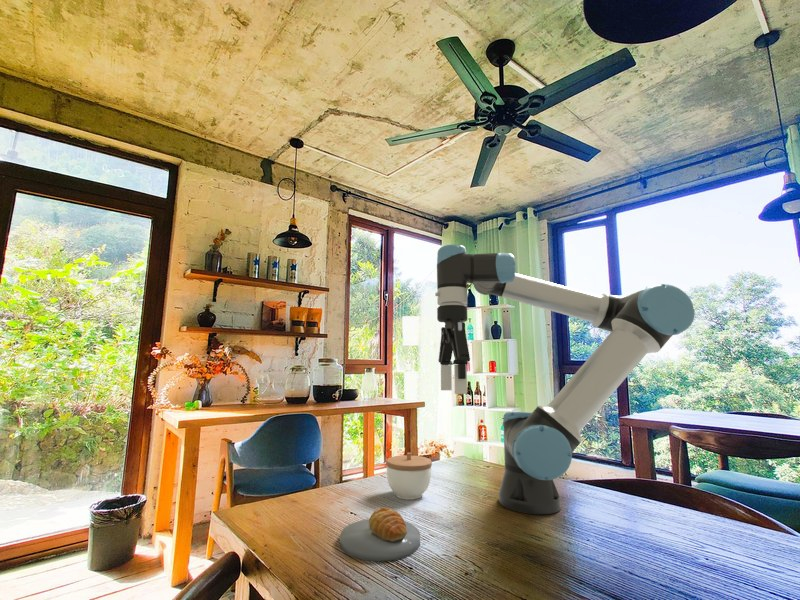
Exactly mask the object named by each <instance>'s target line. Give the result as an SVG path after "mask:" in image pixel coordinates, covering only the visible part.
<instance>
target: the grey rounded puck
mask: <svg viewBox="0 0 800 600" xmlns="http://www.w3.org/2000/svg"><path fill="white" fill-rule="evenodd" d="M369 519H370V518H368V519H362V520H357V521H355V522H352V523H350V524H348V525H346V526H345V527H344V528H342V530H341V532H340V535H339V546H340V548H341V550H342V552H343V553H345V554H347V555H348V556H351V557H353V558H355V559H359V560H363V561H368V562H369V561H370V562H390V561H396V560H401V559H403V558H406V557H409V556H412V555H413V554H414V553H416V552H417V550H419V548H420V546H421V532H420V530H419V528H418V527H416V526H415V525H413V524H412V523H409V522H407V521H404V522H405V525H406V530H407V534H406V536H405V538H403V539H399V540H396V541H393V542H392V541H389V540H383V539H381V538H379V537H378V536H377V535H375V534H374V533H373V532H372V531H371V530H370V527H369Z"/></svg>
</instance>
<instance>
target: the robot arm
mask: <svg viewBox="0 0 800 600" xmlns="http://www.w3.org/2000/svg"><path fill="white" fill-rule="evenodd" d="M436 257H437V258H436V261H437V262H436V285H437V286H436V288H437V292H435V297H437V305H438V307H437V308H436V311H437V312H436V314H437V315H436V316H437V318H436V319H437V321H438V322H440V323H444V326H443V327H442V326H441V327H440V331H441V333H440V335H441V336H440V343H439V352H438V353H439V354H438V363H440V391H452V390H453V389H452V388H453V386H452V385H453V384H452V380H453V379H452V378H453V377H452V375H453V374H452V365H453V366H454V371H453V372H454V394H455V395H468V376H467V375H468V367H467V366H468V362H470V361H471V357H470V351H469V346H468V345H469V344H468V339H467V333H466V324H465V322H467V321H468V307H467V305H468V285H467V284H473V288H474V289H475V291H476V292H477V293H478V294H480V295H484V296H487V295H488V296H490V295H493V296H497V297H501V298H505V299H507V300H511V301H516V302H518V303H523V304H526V305H529V306H533V307H536V308H539V309H543V310H544V309H545V310H547V311H550V312H554V313H558V314H561V315H565V316H568V317H572V318H576V319H579V320H583V321H586V322H590V323H591V325H592V326H593V327H594V328H597V329H600V330H604V331H607V332H609V334H608V335H607V336H606V337H605V339H604V340H603V341H602V342H601V343H600V345H598V347H597V348H596V349H595V350H594V351H593V353H592V354H591V355H590V356H589V357H588V358H587V360H586V361H585V362H584V363H583V364H581V366H580V367H579V369H578V370H577V371H576V372H575V373H574V374H573V375H572V377H571V378H570V379H569V380H568V382H566V384H565V385H564V386H563V387H562V388H561V390H560V391H559V392H558V393H557V394H556V395H555V397H554V398H553V399H552V400H551V401H550V402H549V403H548V404H547V405H538V406H536V408H535V409H534V410H533V411H532V412H531V411H507V412H506V413H504V414H503V419H502V420H503V422H502V426H503V447H504V448H503V449H504V473H503V477H502V480H501V483H500V487H499V490H498V491H499V492H498V502H499V504H500V505H501V506H503V507H504V508H506V509H509V510H510V511H515V512H518V513H522V514H528V515H550V514H551V515H552V514H556V513H557V512H559V511H560V510H562V509H561V508H562V507H561V506H562V505H561V498H560V494H559V491H558V489H557V486H556V483H555V481H554V480H556V479H558V478H560V477H561V476H563V475H564V474H565V473H566V472H567V471H568V469H569V468H570V466H571V463H572V460H573V452H574V451H575V450H576V449H577V448H578V446H579V445H580V444H581V443H582V436H581V432H582V430H583V429H584V427H585V426H587V424H588V423H589V422H590V421H591V419H592V418H593V417H595V415H596V414H597V412H598V411H599V410H600V409H601V408H602V407H603V405H604V404H605V403H606V402H607V401H608V400H609V398H610V397H612V395H613V394H614V393H615V391H616V390H618V388H619V387H620V386H621V384H622V383H623V382H624V381H625V380H626V378H627V377H629V375H631V373H632V371H633V370H634V369H635V368H636V367H637V366H638V364H640V362H641V361H642V360H643V359H644V358H645V356H646V355H647V354H651V353H658V352H660V351H661V350H662V348H664V346H665V345H666V343H668V341H670V339H671V338H672V337H673V336H676V335H679V334H681V333H683V332H685V331H687V330H688V329H689V328H690V327H691V326H692V323H693V322H694V319H695V316H696V315H695V309H694V305H693V302H692V299H691V298H690V296H689V295H688V294H687V293H686V292H685V291H683V290H682V289H681V288H679V287H677V286H675V285H672V284H668V283H667V284H666V283H665V284H664V283H660V284H651V285H649V286H646V287H645V288H642V289H641V290H639V291H636V292H633V293H631V294H629V295H627V294H626V295H613V294H609V293H602V294H600V295H599V294H595V293H591V292H587V291H584V290H579V289H577V288H574V287H573V288H572V287H569V286H566V285H565V286H564V285H563V284H557V283H554V282H551V281H547V280H546V281H545V280H543V279H539V278H535V277H531V276H527V275H523V274H520V273H516V258H515V256H514V254H512V253H508V252H499V251H498V252H496V253H495V252H494V253H489V252H487V253H468V251H467V249H466V247H465V246H464V245H461V244H446V245H443V246H441V247H440V248H439V249H438V250H437V255H436ZM453 356H454V359H453V361H452V357H453Z"/></svg>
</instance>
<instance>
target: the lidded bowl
mask: <svg viewBox="0 0 800 600" xmlns="http://www.w3.org/2000/svg"><path fill="white" fill-rule="evenodd" d="M385 463H386V478H387V483H388V487H390V490H391V491H392V492H393V493H394V494H395V497H396V498H398V499H402V500H410V501H411V500H417V499H420V498H422V497H423V494H424V493H425V492H426V491H427V490H428V488H429V485H430V483H431V480H432V479H431V478H432V465H433V462H432V460H431V459H430V458H428V457H427V456H421V455H412V452H406V455H404V454H403V455H402V454H401V455H396V456H395V455H394V456H392V457H391V456H390V457H389V458H387V459H386V460H385Z"/></svg>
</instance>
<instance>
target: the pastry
mask: <svg viewBox="0 0 800 600" xmlns="http://www.w3.org/2000/svg"><path fill="white" fill-rule="evenodd" d="M368 519H369V527H370V530H371V531H372V532H373V533H374V534H375V535H377V536H378V537H379V538H381V539H383V540H389V541H392V542H393V541H396V540H399V539H403V538H405V536H406V534H407V530H406V525H405V522H406V521H405V520H404V518H403V517H402V515H401V514H400V513H399V512H398V511H396V510H392V509H391V508H389V507H386V506H385V507H383V506H382V507H380V508H378V509H377V510H374V511H373V513H372V514H371V515H370V516H369V518H368Z"/></svg>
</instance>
